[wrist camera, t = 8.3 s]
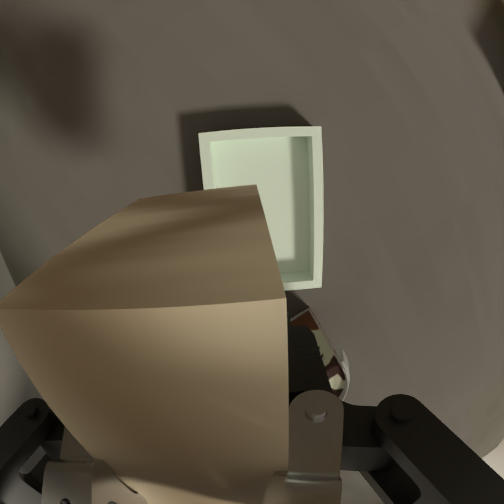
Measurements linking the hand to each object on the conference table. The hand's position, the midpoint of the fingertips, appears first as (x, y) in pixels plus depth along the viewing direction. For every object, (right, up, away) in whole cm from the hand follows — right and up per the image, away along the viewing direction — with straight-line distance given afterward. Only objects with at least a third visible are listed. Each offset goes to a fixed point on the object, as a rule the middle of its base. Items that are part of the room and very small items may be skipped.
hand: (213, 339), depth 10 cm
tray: (+2, +7, +16) cm, 17 cm away
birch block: (0, 0, +1) cm, 1 cm away
